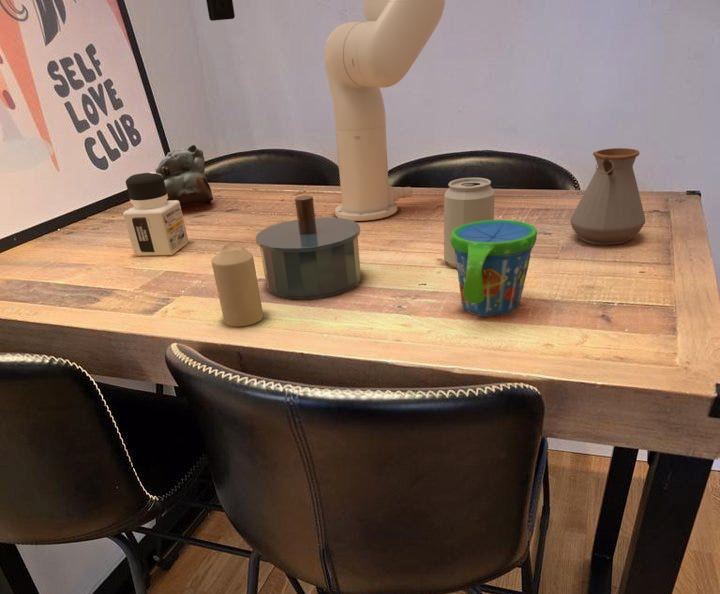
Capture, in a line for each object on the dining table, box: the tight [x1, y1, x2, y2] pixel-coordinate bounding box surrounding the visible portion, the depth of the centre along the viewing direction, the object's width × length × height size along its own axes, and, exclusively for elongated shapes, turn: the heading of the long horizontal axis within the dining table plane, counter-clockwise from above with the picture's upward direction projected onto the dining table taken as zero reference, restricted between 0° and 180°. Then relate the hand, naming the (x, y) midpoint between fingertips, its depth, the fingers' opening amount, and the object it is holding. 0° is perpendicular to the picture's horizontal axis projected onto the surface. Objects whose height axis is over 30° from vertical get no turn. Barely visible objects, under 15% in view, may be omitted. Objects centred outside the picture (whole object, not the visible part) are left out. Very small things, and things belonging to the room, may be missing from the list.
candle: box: [210, 242, 264, 327], centre depth 87 cm, size 6×6×10 cm
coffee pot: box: [570, 147, 646, 246], centre depth 99 cm, size 21×12×15 cm, turn 156°
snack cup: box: [450, 219, 538, 318], centre depth 84 cm, size 16×10×10 cm
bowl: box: [259, 236, 362, 301], centre depth 98 cm, size 15×15×7 cm
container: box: [122, 171, 189, 257], centre depth 117 cm, size 8×8×13 cm
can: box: [443, 177, 496, 269], centre depth 99 cm, size 8×8×12 cm
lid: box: [255, 194, 361, 253], centre depth 95 cm, size 16×16×6 cm
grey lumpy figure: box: [155, 144, 214, 207], centre depth 144 cm, size 15×12×14 cm
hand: (221, 19), depth 101 cm, fingers open, 9 cm apart
